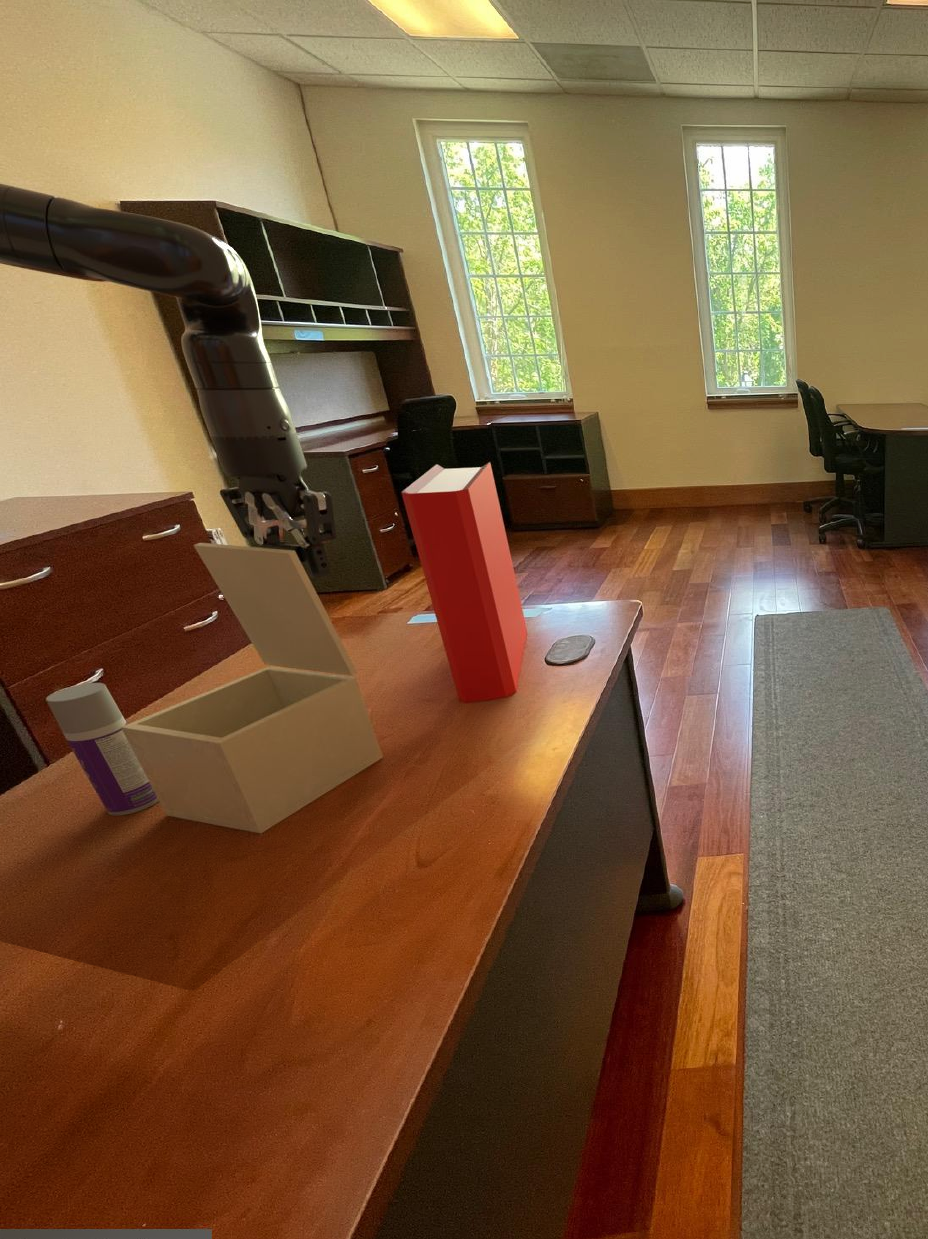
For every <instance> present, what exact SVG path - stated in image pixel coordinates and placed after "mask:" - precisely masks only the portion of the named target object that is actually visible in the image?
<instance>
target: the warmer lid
mask: <svg viewBox="0 0 928 1239" xmlns="http://www.w3.org/2000/svg"><path fill="white" fill-rule="evenodd" d="M193 547H194V549H195V550H196V552H197V554H198V556H199V557H200V559H201V560H202V562H203V564H204V565H205V567H206V569H207V570H208V572H209V574H210V576H211V577H212V579H213V580H214V582H215V584H216V585H217V587H218V590H220V592H221V594H222V596H223V598H224V599H225V600H226V602H227V604H228V606H229V607H230V609H231V610H232V612H233V614H234V615H235V617H236V619H237V620H238V622H239V624H240V626H241V627H242V629H243V631H244V632H245V634H246V635H247V637H248V639H249V640H250V642H251V644H252V646H253V647H254V649H255V650H256V652H257V654H258V655H259V657H260V659H261V661H262V662H263V664H264V665H267V666H272V667H279V668H287V669H295V670H303V671H310V672H318V673H326V674H334V675H342V676H349V677H354V675H355V674H357V673H358V671H357V669H356V667H355V665H354V663H353V661H352V659H351V657H350V655H349V653H348V651H347V650H346V647H345V646H344V643H343V642H342V639H341V638H340V636H339V634H338V632H337V630H336V627H335V626H334V624H333V622H332V620H331V618H330V616H329V615H328V612H327V611H326V608H325V606H324V605H323V603H322V601H321V598H320V597H319V595H318V593H317V591H316V589H315V587H314V586H313V583H312V581H311V579H310V576H309V575H308V573H307V571H306V570H305V568H304V565H303V564H302V563H304V560H303V557H302V554H301V551H300V548H302V547H301V546H300V545H299V544H288V543H286V544H278V543H266V544H264V545H263V546H262V545H261V547H256V546H244V545H232V544H222V543H221V544H219V543H211V542H210V543H208V542H198V543H195V544H193Z"/></svg>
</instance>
